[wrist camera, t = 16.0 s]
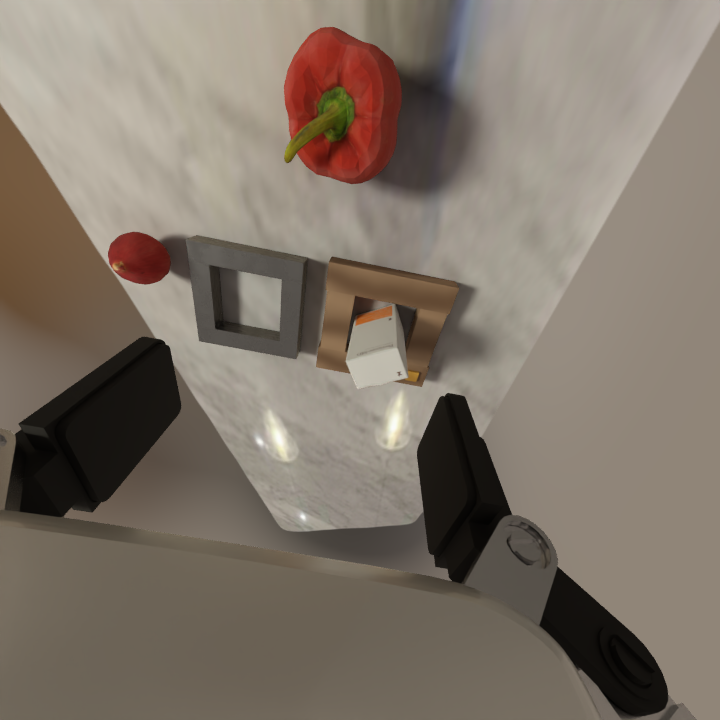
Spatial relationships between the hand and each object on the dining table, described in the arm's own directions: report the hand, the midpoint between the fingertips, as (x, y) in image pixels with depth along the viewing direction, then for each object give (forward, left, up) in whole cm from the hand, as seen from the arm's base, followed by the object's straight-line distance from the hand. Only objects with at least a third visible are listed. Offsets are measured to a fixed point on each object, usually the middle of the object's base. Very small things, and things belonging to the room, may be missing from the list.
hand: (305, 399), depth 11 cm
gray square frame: (+11, -13, -30) cm, 35 cm away
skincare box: (+11, +5, -31) cm, 33 cm away
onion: (+7, -25, -31) cm, 40 cm away
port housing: (+11, +5, -30) cm, 33 cm away
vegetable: (-10, -3, -31) cm, 32 cm away
